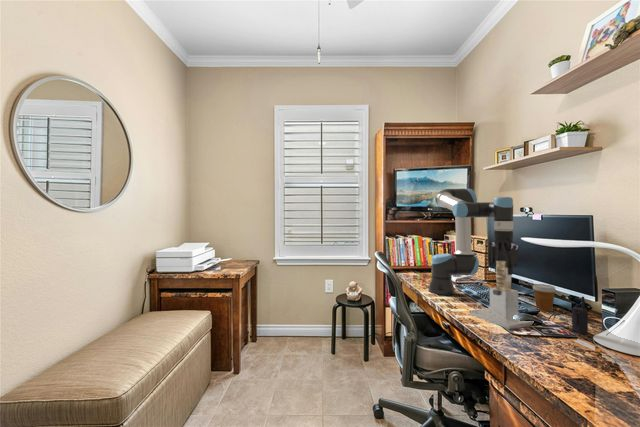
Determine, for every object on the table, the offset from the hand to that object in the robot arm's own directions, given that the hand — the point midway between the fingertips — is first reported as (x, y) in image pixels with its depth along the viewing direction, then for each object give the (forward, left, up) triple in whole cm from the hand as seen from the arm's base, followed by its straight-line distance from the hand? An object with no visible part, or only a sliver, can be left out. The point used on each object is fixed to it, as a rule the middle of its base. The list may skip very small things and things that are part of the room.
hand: (503, 280), depth 135 cm
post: (0, 0, -15) cm, 15 cm away
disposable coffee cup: (-2, +31, -18) cm, 36 cm away
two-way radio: (+22, +14, -18) cm, 32 cm away
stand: (0, 0, -18) cm, 18 cm away
